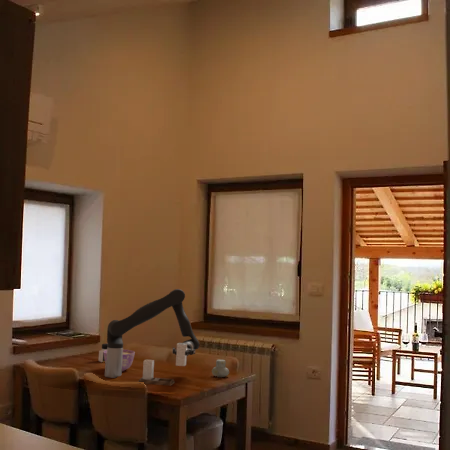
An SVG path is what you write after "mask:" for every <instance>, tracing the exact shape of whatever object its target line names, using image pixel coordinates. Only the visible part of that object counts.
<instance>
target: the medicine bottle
mask: <svg viewBox="0 0 450 450" xmlns="http://www.w3.org/2000/svg"><path fill="white" fill-rule="evenodd" d="M107 347H108V344H107V343H103V344H101V349H100V350H98V362H100V363H102V362H105V359H104V353H103V351H105V350H107Z"/></svg>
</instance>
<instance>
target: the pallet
mask: <svg viewBox="0 0 450 450" xmlns="http://www.w3.org/2000/svg"><path fill="white" fill-rule="evenodd" d="M138 382H144V383H145V385H154V386H155V385H157V386H159V385H160V386H173V385H174V384H175V383H176V381H175V379H174V378H164V377H163V378H162V377H153V381H151V380H143V376H142V377H140V379H138Z"/></svg>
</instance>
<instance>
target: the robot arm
mask: <svg viewBox="0 0 450 450" xmlns="http://www.w3.org/2000/svg"><path fill="white" fill-rule="evenodd" d="M185 298H186V293H185V291H184V290H182V289H180V288H177V289H176V288H175V289H173V290H172V291H170V292H169V293H168V294H166V295H164V296H163V297H160V298H158V299H156V300H153V301H150V302H149V303H146V304H145V305H142V306H141V307H139V308H137V309H136V310H135V311H134V312H133V313H131V314H130V315H129V316H127V317H124V318H123V319H121V320H118V319H114V320H111V321H110V322H109V323H108V325H107V333H106V334H107V335H106V342H107V343H106V344H108V347H107V360H106V361H105V363H104V364H105V366H104V377H105V378H112V379H113V378H114V379H116V378H119V377H121V376H122V372H123V371H122V356H123V350H124V342H123V341H124V340H123V335H124V334H126V333H127V332H129V331H130V330H132V329H133V328H135V327H137V326H139V325H142V324H145V322H148V321H150V320H151V319H153V318H155V317H156V316H159V315H160V314H161V313H163V312H164V311H166V310H167V309H169V308H171V307H172V309H173V311H174V314H175V316H176V319H177V323H178V326H179V329H180V333H181V336H182V337H185V338H186V337H188V338H190V339H186V340H184V341H183V342H182V343H187V351H185V356H186V355H187V357H188V356H191V355H195V354H196V350H198V349H199V348H200V341H199V340H198V338H197V337H196V335H195V333H194V331H193V328H192V324H191V321H190V319H189V317H188V316H187V314H186V312H185V310H184V306H183V302H184V300H185ZM172 354H173V355H175V356H176V354H177V347H176V348H175V347H172Z"/></svg>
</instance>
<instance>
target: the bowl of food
mask: <svg viewBox="0 0 450 450" xmlns="http://www.w3.org/2000/svg"><path fill="white" fill-rule="evenodd" d="M103 353H104V359H105V361H106V360H107V350H105V351H103ZM135 353H136V352H135V351H134V350H129V349H123V356H122V372H125V370H127V369H129V368H130V367H132V364H133V361H134V358H135V355H136V354H135Z"/></svg>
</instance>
